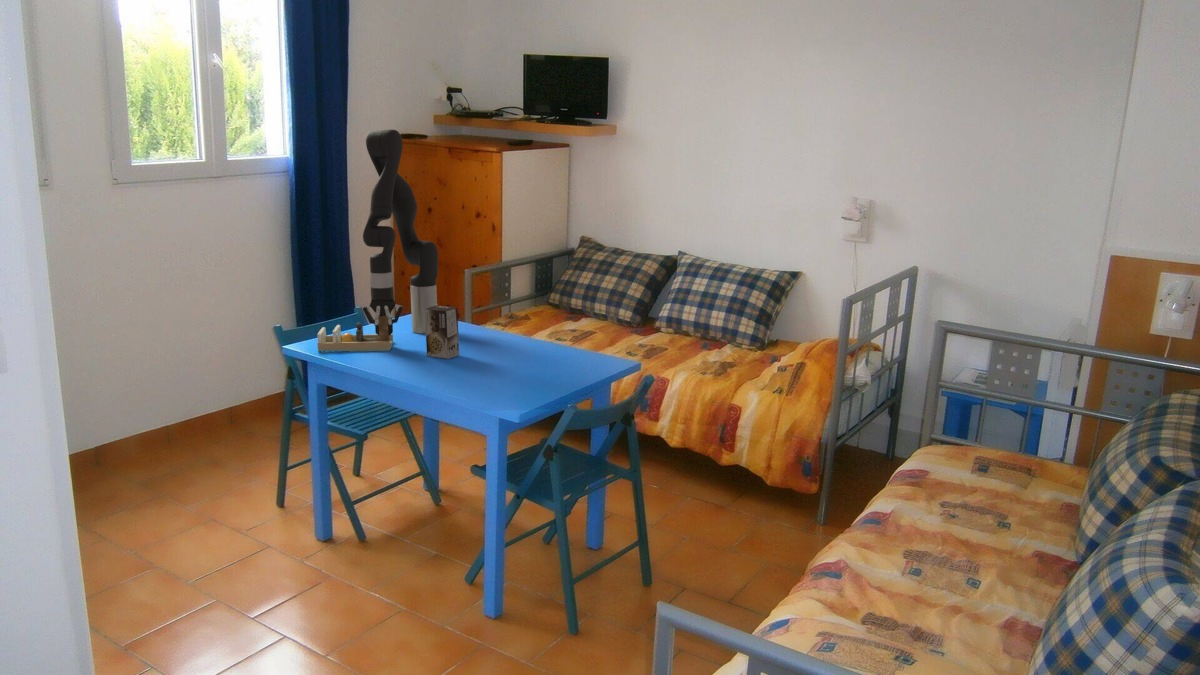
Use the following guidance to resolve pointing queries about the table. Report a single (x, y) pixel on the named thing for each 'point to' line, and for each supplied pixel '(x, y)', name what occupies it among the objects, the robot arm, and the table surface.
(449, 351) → the coffee box
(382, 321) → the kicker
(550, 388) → the table surface
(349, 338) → the ball
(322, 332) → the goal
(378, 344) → the tan tray
